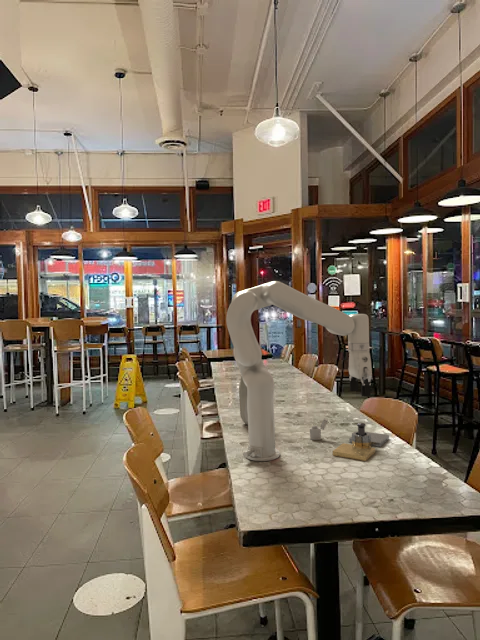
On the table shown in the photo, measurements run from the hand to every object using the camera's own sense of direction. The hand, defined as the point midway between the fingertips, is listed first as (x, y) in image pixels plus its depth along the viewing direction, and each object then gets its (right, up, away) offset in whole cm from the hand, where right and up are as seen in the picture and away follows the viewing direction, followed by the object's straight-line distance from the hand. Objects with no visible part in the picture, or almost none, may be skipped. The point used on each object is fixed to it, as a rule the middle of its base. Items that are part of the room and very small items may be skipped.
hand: (359, 393), depth 165 cm
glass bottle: (-39, -20, +38) cm, 58 cm away
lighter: (-13, -20, +13) cm, 27 cm away
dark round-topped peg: (+1, -20, +1) cm, 20 cm away
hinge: (+1, -20, +1) cm, 20 cm away
